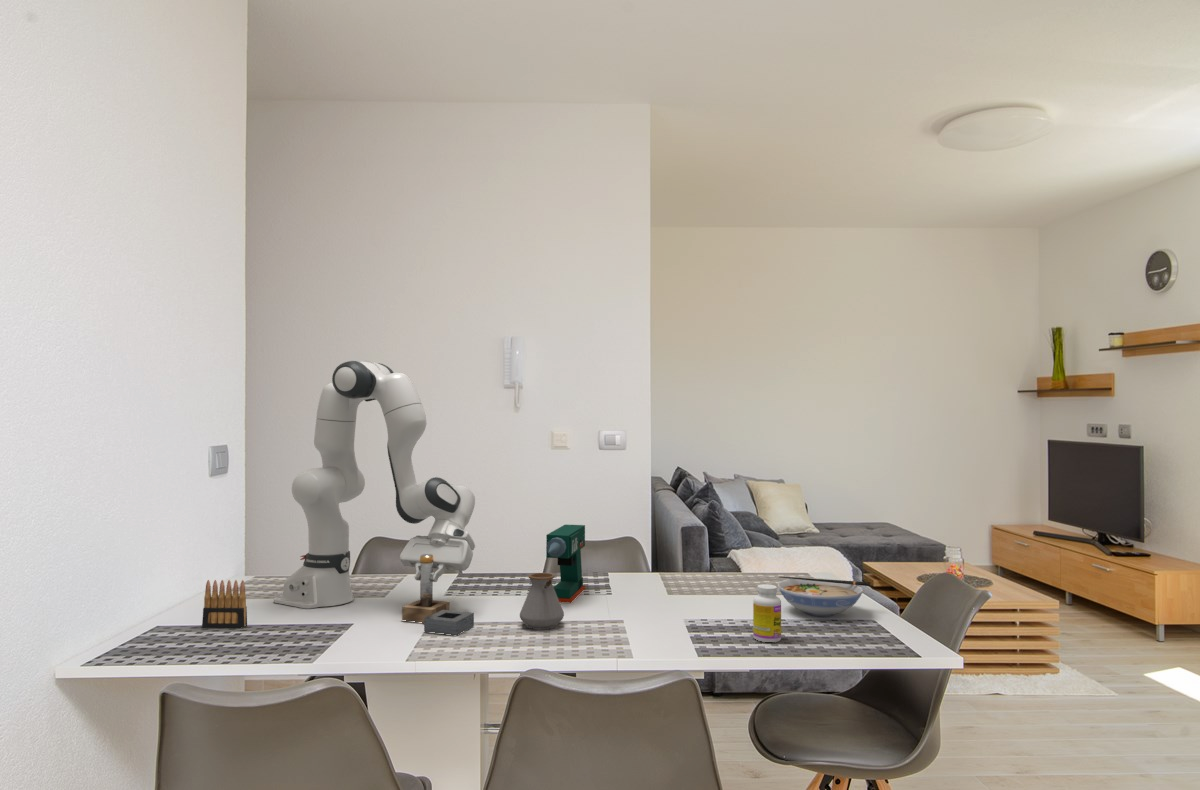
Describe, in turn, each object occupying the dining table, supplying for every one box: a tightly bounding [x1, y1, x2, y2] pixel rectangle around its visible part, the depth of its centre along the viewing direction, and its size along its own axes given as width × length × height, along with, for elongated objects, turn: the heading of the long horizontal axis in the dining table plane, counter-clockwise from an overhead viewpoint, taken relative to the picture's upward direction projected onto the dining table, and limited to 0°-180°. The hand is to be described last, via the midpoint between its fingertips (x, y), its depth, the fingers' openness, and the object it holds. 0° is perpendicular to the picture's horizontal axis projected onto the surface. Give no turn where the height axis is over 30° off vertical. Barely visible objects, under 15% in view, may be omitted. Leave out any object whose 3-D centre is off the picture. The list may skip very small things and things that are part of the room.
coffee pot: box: [519, 572, 565, 630], centre depth 190 cm, size 21×12×15 cm, turn 11°
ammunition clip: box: [201, 579, 248, 629], centre depth 192 cm, size 11×2×12 cm, turn 90°
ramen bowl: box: [777, 576, 871, 617], centre depth 208 cm, size 25×23×8 cm
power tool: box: [545, 524, 586, 604], centre depth 221 cm, size 32×7×20 cm, turn 168°
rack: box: [401, 599, 451, 623], centre depth 200 cm, size 9×9×4 cm
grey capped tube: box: [419, 554, 434, 607], centre depth 201 cm, size 3×3×15 cm
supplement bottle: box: [752, 583, 782, 643], centre depth 183 cm, size 7×7×13 cm
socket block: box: [423, 609, 475, 636], centre depth 190 cm, size 9×9×4 cm
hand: (425, 580), depth 200 cm, fingers open, 3 cm apart
